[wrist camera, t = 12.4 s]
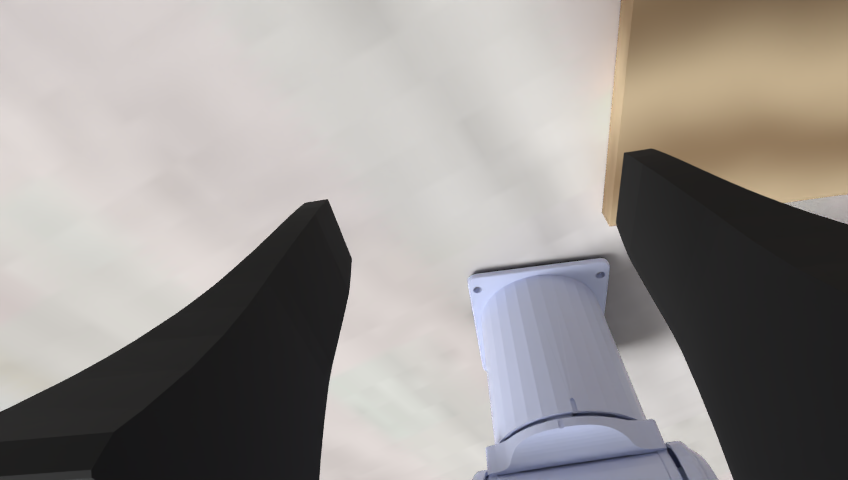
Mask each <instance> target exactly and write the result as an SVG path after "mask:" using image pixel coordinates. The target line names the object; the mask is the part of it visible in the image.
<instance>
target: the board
mask: <svg viewBox="0 0 848 480" xmlns="http://www.w3.org/2000/svg"><path fill="white" fill-rule="evenodd" d="M651 148H652V149H655V150H658V151H661V152H663V153H666V154H668V155H671V156H673V157H675V158H678V159H680V160H682V161H684V162H687V163H689V164H691V165H693V166H695V167H698V168H700V169H702V170H704V171H706V172H709V173H711V174H713V175H715V176H718V177H720V178H722V179H724V180H727V181H729V182H731V183H734V184H736V185H738V186H741V187H743V188H746V189H748V190H750V191H753V192H755V193H758V194H760V195H763V196H766V197H768V198H771V199H774V200H776V201H779V202H781V203H786V202H794V201H801V200H809V199H816V198H823V197H831V196H838V195H845V194H848V0H621V8H620V19H619V30H618V42H617V53H616V64H615V75H614V86H613V97H612V108H611V120H610V131H609V142H608V153H607V164H606V175H605V186H604V198H603V209H602V213H603V215H604V217H605V219H606V221H607V222H608V224H609V226H617V225H616V216H617V208H618V199H619V190H620V182H621V173H622V165H623V156H624V153H625V152H632V151H638V150H644V149H651Z"/></svg>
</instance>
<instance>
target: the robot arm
mask: <svg viewBox="0 0 848 480" xmlns="http://www.w3.org/2000/svg"><path fill="white" fill-rule="evenodd" d="M616 225H617V228H618V230H619V233H620V236H621V239H622V241H623V244H624V246H625V249H626V251H627V254H628V256H629V258H630V260H631V262H632V264H633V265H634V267H635V269H636V271H637V272H638V274H639V276H640V278H641V279H642V281H643V283H644V285H645V286H646V288H647V290H648V292H649V293H650V295H651V297H652V298H653V300H654V302H655V304H656V305H657V307H658V309H659V311H660V312H661V314H662V316H663V317H664V319H665V321H666V323H667V324H668V326H669V328H670V330H671V331H672V333H673V335H674V337H675V339H676V341H677V343H678V345H679V347H680V349H681V351H682V353H683V355H684V357H685V360H686V362H687V364H688V367H689V369H690V371H691V373H692V376H693V378H694V380H695V383H696V385H697V387H698V390H699V392H700V394H701V397H702V399H703V402H704V404H705V407H706V409H707V412H708V414H709V417H710V419H711V422H712V424H713V427H714V429H715V431H716V434H717V437H718V439H719V442H720V445H721V447H722V450H723V453H724V455H725V458H726V461H727V463H728V466H729V469H730V472H731V474H732V477H733V480H848V224H845V223H841V222H838V221H835V220H832V219H828V218H825V217H822V216H819V215H816V214H812V213H809V212H806V211H804V210H801V209H798V208H795V207H792V206H789V205H787V204H784V203H781V202H779V201H776V200H774V199H771V198H768V197H766V196H763V195H760V194H758V193H755V192H753V191H750V190H748V189H746V188H743V187H741V186H738V185H736V184H734V183H731V182H729V181H727V180H724V179H722V178H720V177H718V176H715V175H713V174H711V173H709V172H706V171H704V170H702V169H700V168H698V167H695V166H693V165H691V164H689V163H687V162H684V161H682V160H680V159H678V158H675V157H673V156H671V155H668V154H666V153H663V152H661V151H658V150H655V149H652V148H651V149H644V150H638V151H632V152H625V153H624V156H623V165H622V173H621V182H620V190H619V199H618V208H617V216H616ZM351 263H352V258H351V256H350V253H349V251H348V248H347V246H346V243H345V241H344V238H343V236H342V233H341V231H340V228H339V226H338V223H337V221H336V218H335V216H334V213H333V211H332V208H331V206H330V203H329V201H328V199H326V200H320V201H314V202H307V203H304V204H303V205H302V206H301V207H299V208H298V209H297V210H296V211H295V212H294V213H293V214H292V215H290V216H289V217H288V218H287V219H286V220H285V221H284V222H283V223H282V224H281V225H280V226H279V227H278V228H277V229H276V230H275V231H274V232H273V233H272V234H271V235H270V236H269V237H267V238H266V239H265V240H264V241H263V242H262V243H261V244H260V245H259V246H258V247H257V248H256V249H255V250H254V251H253V252H252V253H251V254H249V255H248V256H247V257H246V258H245V259H244V260H243V261H242V262H240V263H239V264H238V265H237V266H236V267H235V268H234V269H233V270H231V271H230V272H229V273H228V274H227V275H226V276H225V277H223V278H222V279H221V280H220V281H219V282H217V283H216V284H215V285H214V286H213V287H211V288H210V289H209V290H207V291H206V292H205V293H204V294H202V295H201V296H200V297H198V298H197V299H196V300H194V301H193V302H192V303H190V304H189V305H188V306H186V307H185V308H184V309H182V310H181V311H179V312H178V313H176V314H175V315H174V316H172V317H170V318H169V319H167V320H166V321H164V322H163V323H161V324H160V325H158V326H157V327H155V328H154V329H152V330H151V331H149V332H148V333H146V334H144V335H143V336H141V337H140V338H138V339H137V340H135V341H134V342H132V343H130V344H129V345H127V346H125V347H124V348H122V349H120V350H119V351H117V352H115V353H113V354H112V355H110V356H108V357H107V358H105V359H103V360H101V361H99V362H98V363H96V364H94V365H92V366H90V367H89V368H87V369H85V370H83V371H81V372H79V373H78V374H76V375H74V376H72V377H70V378H68V379H66V380H64V381H62V382H60V383H58V384H56V385H54V386H52V387H50V388H48V389H46V390H44V391H42V392H40V393H38V394H36V395H34V396H32V397H30V398H28V399H26V400H24V401H22V402H20V403H18V404H16V405H14V406H12V407H10V408H8V409H5V410H3V411H1V412H0V480H319V475H320V460H321V449H322V439H323V429H324V419H325V410H326V402H327V394H328V386H329V380H330V374H331V369H332V364H333V360H334V356H335V351H336V347H337V343H338V339H339V334H340V330H341V326H342V322H343V317H344V313H345V309H346V304H347V300H348V295H349V288H350V278H351ZM609 271H610V265H609V263H608V261H607V260H606V259H604V258H597V259H589V260H581V261H573V262H565V263H557V264H549V265H542V266H534V267H526V268H518V269H510V270H502V271H494V272H486V273H478V274H473V275H471V276H469V278H468V287H469V293H470V298H471V304H472V309H473V315H474V321H475V326H476V332H477V337H478V343H479V349H480V354H481V360H482V366H483V369H484V370H485V371H487V378H488V387H489V395H490V404H491V413H492V422H493V430H494V439H495V445H492V446H488V447H486V457H487V468H488V470H484V471H479V472H477V473H476V474H475V475H474V477H473V479H472V480H718V478H717V477H716V475H715V473H714V472H713V470H712V469H711V467H710V466H709V464H708V463H707V462H706V460H705V459H704V458H703V457H702V456H701V455H699V454H698V453H696V452H694V451H693V450H691V449H689V448H688V447H687V446H686V445H685V444H684V443H682V442H681V441H674V442H667V443H666V444H665V443H664V441H663V438H662V436H661V434H660V431H659V429H658V427H657V424H656V422H655V420H653V419H649V420H647V419H646V417H645V415H644V412H643V410H642V407H641V405H640V402H639V400H638V398H637V395H636V393H635V390H634V388H633V385H632V383H631V380H630V378H629V376H628V373H627V371H626V368H625V366H624V363H623V361H622V359H621V356H620V354H619V351H618V349H617V346H616V344H615V342H614V339H613V337H612V334H611V332H610V329H609V327H608V324H607V322H606V320H605V317H604V314H605V306H606V297H607V288H608V280H609ZM598 272H601V273H599V274H597V273H598ZM475 287H480V288H475Z"/></svg>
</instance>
